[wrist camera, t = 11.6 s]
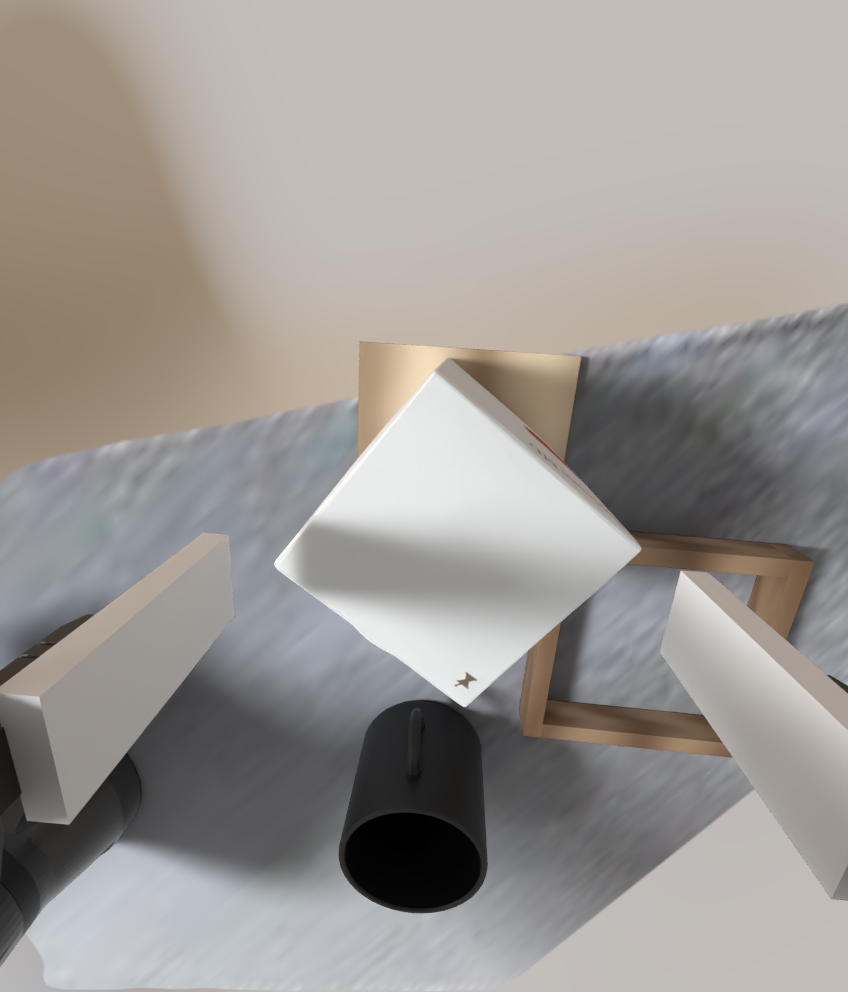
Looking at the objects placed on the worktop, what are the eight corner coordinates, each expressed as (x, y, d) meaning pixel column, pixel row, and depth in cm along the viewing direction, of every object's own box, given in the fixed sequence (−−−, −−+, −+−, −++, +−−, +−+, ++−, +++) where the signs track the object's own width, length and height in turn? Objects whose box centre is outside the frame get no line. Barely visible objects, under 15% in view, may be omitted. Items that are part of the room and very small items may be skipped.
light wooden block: (357, 538, 32) (356, 542, 32) (361, 341, 28) (359, 341, 27) (546, 555, 32) (548, 558, 31) (578, 356, 27) (581, 356, 27)
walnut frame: (518, 709, 36) (523, 735, 33) (548, 524, 31) (555, 539, 29) (723, 730, 35) (742, 758, 33) (786, 544, 30) (814, 561, 28)
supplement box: (558, 449, 29) (658, 554, 14) (462, 548, 31) (466, 720, 17) (447, 351, 27) (437, 359, 13) (356, 462, 30) (264, 571, 16)
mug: (483, 673, 35) (491, 779, 26) (479, 792, 39) (485, 919, 30) (359, 668, 36) (328, 771, 27) (367, 786, 39) (343, 909, 31)
